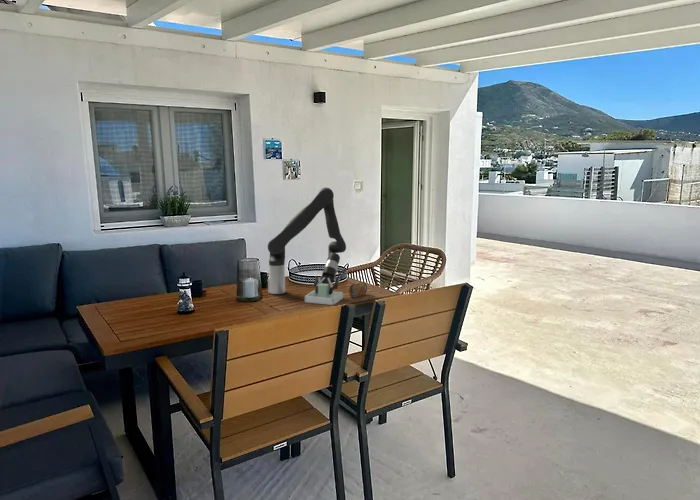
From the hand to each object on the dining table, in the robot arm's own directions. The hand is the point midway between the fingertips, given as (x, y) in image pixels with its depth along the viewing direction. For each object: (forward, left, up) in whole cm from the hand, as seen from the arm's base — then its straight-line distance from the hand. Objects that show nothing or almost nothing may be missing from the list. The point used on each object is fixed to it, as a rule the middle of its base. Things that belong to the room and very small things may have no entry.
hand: (323, 293), depth 270 cm
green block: (0, +1, -4) cm, 4 cm away
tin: (+15, +17, -5) cm, 24 cm away
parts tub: (0, +1, -5) cm, 5 cm away
